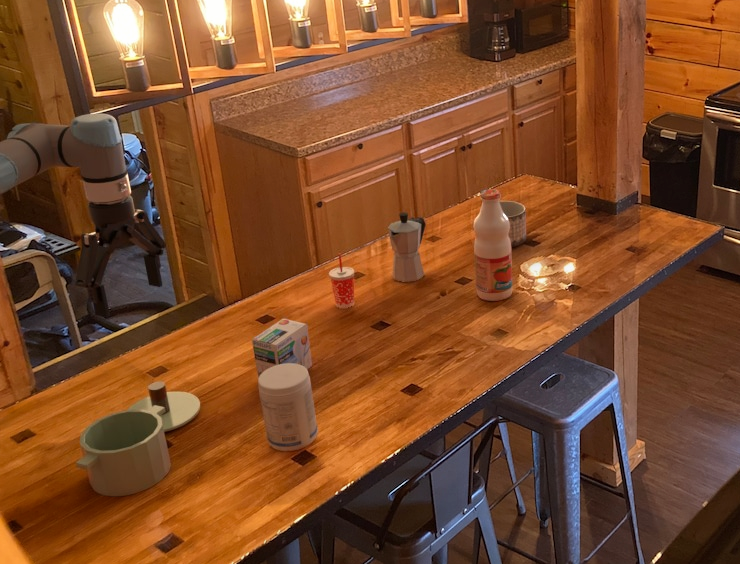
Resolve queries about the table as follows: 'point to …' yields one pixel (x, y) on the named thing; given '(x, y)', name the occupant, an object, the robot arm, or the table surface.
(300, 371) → the supplement tub
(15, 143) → the robot arm
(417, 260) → the coffee maker
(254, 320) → the table surface
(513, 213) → the planter
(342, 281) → the beverage cup
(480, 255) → the fruit juice
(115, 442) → the pale green cooking pot
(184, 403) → the green pot lid
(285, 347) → the light bulb box
